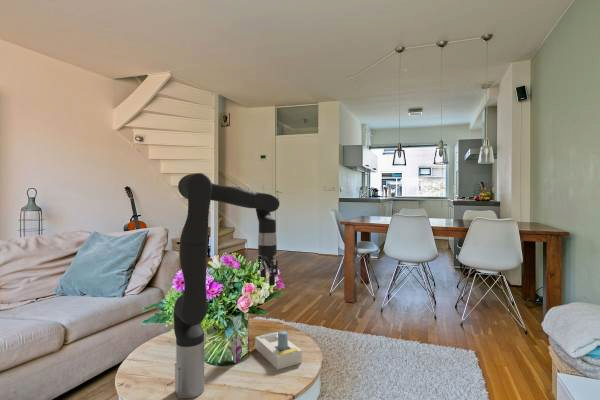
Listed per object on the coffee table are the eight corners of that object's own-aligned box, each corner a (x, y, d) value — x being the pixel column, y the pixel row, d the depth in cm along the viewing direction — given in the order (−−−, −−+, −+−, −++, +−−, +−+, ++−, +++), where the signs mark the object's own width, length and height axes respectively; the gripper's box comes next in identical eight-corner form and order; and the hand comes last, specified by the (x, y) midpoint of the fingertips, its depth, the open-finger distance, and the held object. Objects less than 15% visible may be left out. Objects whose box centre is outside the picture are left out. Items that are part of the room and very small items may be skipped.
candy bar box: (239, 350, 148) (239, 313, 148) (249, 352, 146) (249, 314, 146) (225, 362, 137) (225, 321, 137) (236, 364, 136) (236, 323, 136)
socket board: (277, 369, 131) (277, 356, 131) (255, 348, 150) (255, 336, 150) (301, 362, 137) (301, 349, 137) (277, 342, 156) (277, 331, 156)
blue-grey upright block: (280, 360, 136) (280, 335, 136) (276, 356, 140) (276, 332, 140) (289, 358, 138) (289, 333, 138) (284, 354, 142) (284, 330, 142)
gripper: (252, 242, 142) (252, 280, 142) (266, 246, 130) (266, 288, 130) (268, 241, 146) (268, 278, 146) (283, 244, 133) (283, 285, 133)
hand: (267, 283), depth 138 cm, fingers open, 8 cm apart
